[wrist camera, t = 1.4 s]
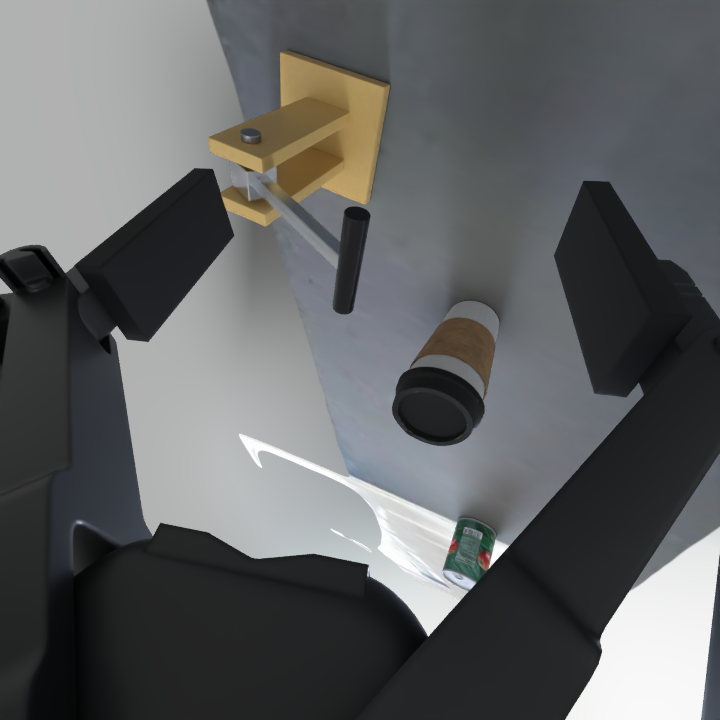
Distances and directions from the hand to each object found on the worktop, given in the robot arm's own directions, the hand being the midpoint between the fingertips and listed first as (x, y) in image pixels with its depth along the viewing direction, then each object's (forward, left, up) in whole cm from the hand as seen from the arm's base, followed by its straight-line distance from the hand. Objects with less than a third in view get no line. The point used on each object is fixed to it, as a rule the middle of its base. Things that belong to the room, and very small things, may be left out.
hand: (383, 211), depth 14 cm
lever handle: (+7, -8, -9) cm, 14 cm away
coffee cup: (+21, +6, -22) cm, 31 cm away
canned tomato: (+70, +27, -22) cm, 78 cm away
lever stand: (+7, -14, -22) cm, 27 cm away
